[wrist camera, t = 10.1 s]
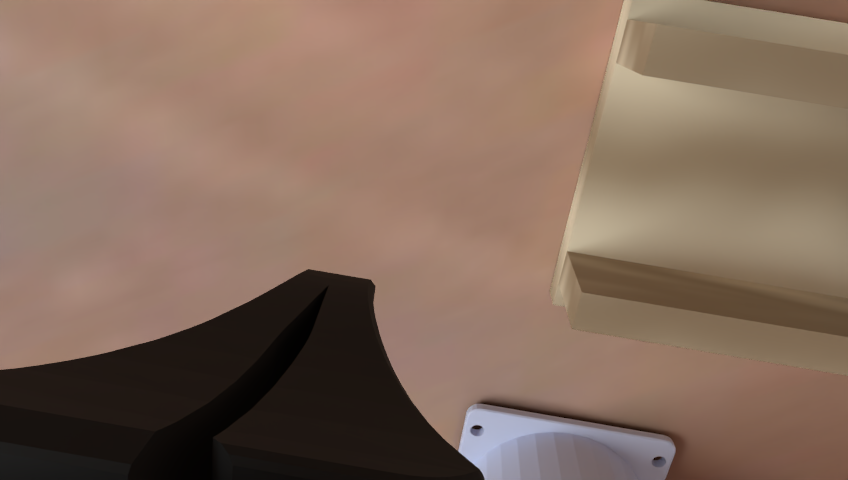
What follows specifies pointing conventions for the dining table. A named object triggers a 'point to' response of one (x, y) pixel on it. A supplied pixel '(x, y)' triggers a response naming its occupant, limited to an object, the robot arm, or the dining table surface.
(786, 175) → the chute
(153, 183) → the dining table surface
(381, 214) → the dining table surface
